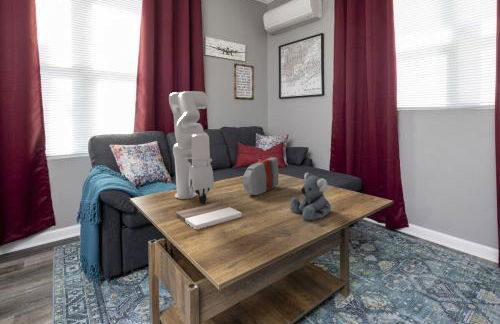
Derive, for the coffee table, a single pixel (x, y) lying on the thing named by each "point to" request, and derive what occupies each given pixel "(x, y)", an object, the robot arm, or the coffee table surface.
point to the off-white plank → (213, 218)
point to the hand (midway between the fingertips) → (202, 203)
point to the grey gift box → (261, 176)
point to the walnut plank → (200, 210)
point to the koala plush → (312, 199)
